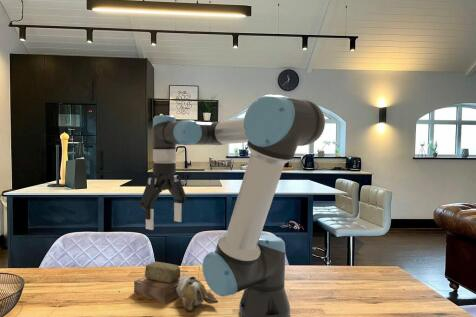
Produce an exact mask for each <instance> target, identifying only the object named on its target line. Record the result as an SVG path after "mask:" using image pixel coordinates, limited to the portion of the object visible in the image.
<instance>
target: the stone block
mask: <svg viewBox="0 0 476 317" xmlns="http://www.w3.org/2000/svg"><path fill="white" fill-rule="evenodd" d="M180 276H181V268H180V266H179V265H178V264H172V263H167V262H162V261H154V262H153V261H152V262H150V263H148V264H146V265H145V271H144V277H146V278H148V279H151V280H156V281H160V282H166V283H173V282H174V281H177V280H178V279H179V278H180Z"/></svg>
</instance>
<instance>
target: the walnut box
mask: <svg viewBox="0 0 476 317" xmlns="http://www.w3.org/2000/svg"><path fill="white" fill-rule="evenodd" d="M181 277H182V275H180V278H179V279H178V280H177V281H174V282H173V283H166V282H160V281H156V280H151V279H148V278H146V277H145V276H144V277H140V278H138V279H136V280H134V281H133V282H134V283H133V293H134V294H136V295H138V296H142V297H145V298H148V299H150V300H151V299H152V300H154V301H157V302H159V303H162V304H167V303H168V302H170V301H173V300H174V299H176V298H178V297H179V296H178V294H177V291H176V288H177V286H178V283H179V281H180V279H181Z"/></svg>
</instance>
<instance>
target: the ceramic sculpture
mask: <svg viewBox="0 0 476 317" xmlns="http://www.w3.org/2000/svg"><path fill="white" fill-rule="evenodd" d="M181 276H182V277H181V279H180V281H179V283H178V286H177V288H176V291H177V294H178V297H179V298H180V299H181V300H180V301H181V304H182V306H183V308H184V309H185V310H187V311H190V312H191V311H192V310H193V309H194V308H195V306H199V305H201V304H202V303H204V302H205V303H207V304H209V305H213V304H218V303H219V300H217V299H216V297H215V295H214V293H212V292H211V291H210V290H206V289H207V288H206V287H205V285H204V284H203V283H202V282H201V281H200V280H198V278H197V277H195V276H190V275H188V274H185V273H183V274H182V275H181Z"/></svg>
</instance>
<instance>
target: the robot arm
mask: <svg viewBox="0 0 476 317" xmlns="http://www.w3.org/2000/svg"><path fill="white" fill-rule="evenodd" d="M325 125H326V120H325V115H324V112H323V110H322V109H321V107H320V106H319V105H318V104H317V103H315V102H313V101H311V100H309V99H303V98H295V97H291V96H285V95H280V94H275V95H274V94H266V95H262V96H260V97H259V98H256V99H255V100H253V102H251V104H250V105H249V106H248V107H247V110H246V111H245V114H244V118H243V117H242V118H237V119H229V120H222V121H215V122H214V121H213V122H212V121H211V122H205V121H195V120H189V119H184V120H176V117H175V116H173V115H155V116H154V117H153V119H152V128H151V129H152V161H153V162H154V163H152V173H153V175H154V177H147V178H146V185H145V186H144V187H145V188H144V191H143V194H142V197H141V198H140V201H139V205H138V207H139V208H141V209H143V210H144V220H145V229H146V230H150V231H154V226H155V225H154V214H155V212H154V211H155V210H154V208H153V206H154V204H155V203H156V201H157V199H158V197H159V195H160V193H162V192H163V191H166V190H168V192H169V193H170V194H171V197H172V198H173V199H174V201H175V202H174V203H173V213H174V215H173V221H174V222H178V223H181V222H182V212H183V204H185V203H186V201H187V195H186V193H185V190H184V187H183V184H182V181H181V180H182V179H181V175H178V174H176V169H177V168H176V167H177V164H176V163H175V162H176V161H177V150H176V149H177V145H180V146H199V145H200V146H202V145H203V146H207V145H208V146H211V145H212V146H223V145H227V144H228V145H230V144H241V143H243V144H244V143H247V144H246V145H247V146H246V147H247V148H248V150H249V152H250V154H249V159H248V161H247V165H246V168H245V170H244V171H245V172H244V174H243V179H242V181H241V185H240V188H239V190H238V195H237V197H236V201H235V205H234V208H233V211H232V215H231V216H230V221H229V224H228V227H227V229H226V230H227V231H226V234H223V235H221V236H219V238H218V240H217V244H216V247H215V250H214V251H211V252H208V253H207V254H206V255H205V256H204V258H203V260H202V267H201V268H202V275H203V277H204V280H205V282H206V284H207V286H208V287H209V289H210V290H211V291H212V292H213V294H215V295H217V296H219V297H227V296H231V295H232V296H233V295H235V294H238V293H240V292H241V291H243V293H242V296H241V298H240V301H239V305H238V306H239V309H238V310H239V312H238V314H239V315H240V317H290V315H291V304H290V302H289V299H288V296H287V291H286V288H285V282H286V281H285V280H286V279H285V278H286V277H285V274H286V273H285V272H286V254H287V252H286V243H285V241H284V239H282V238H281V237H279V236H274V235H270V234H262V231H263V229H264V226H265V223H266V220H267V216H268V213H269V211H270V208H271V205H272V202H273V199H274V197H275V193H276V190H277V188H278V185H279V182H280V178H281V175H282V172H283V170H284V167H285V164H287V163H289V162H291V161H293V160H294V157H295V154H296V152H297V148H298V147H302V146H309V145H311V144H313V143H315V142H316V141H317V140H319V139H320V138H321V137H322V134H323V133H324V130H325Z"/></svg>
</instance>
